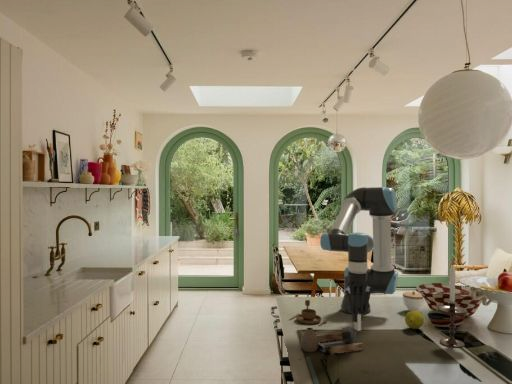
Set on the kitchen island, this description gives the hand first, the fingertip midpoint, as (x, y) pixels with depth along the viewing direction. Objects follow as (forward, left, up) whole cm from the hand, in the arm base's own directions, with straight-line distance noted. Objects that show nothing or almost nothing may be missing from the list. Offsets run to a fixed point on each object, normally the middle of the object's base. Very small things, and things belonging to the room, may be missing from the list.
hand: (357, 329), depth 171 cm
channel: (+9, 0, -6) cm, 11 cm away
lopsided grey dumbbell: (+14, 0, -6) cm, 15 cm away
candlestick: (-36, +13, -6) cm, 39 cm away
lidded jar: (-56, -33, -6) cm, 65 cm away
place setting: (+1, -37, -7) cm, 38 cm away
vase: (+22, 0, -6) cm, 23 cm away
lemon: (-35, -8, -6) cm, 36 cm away
